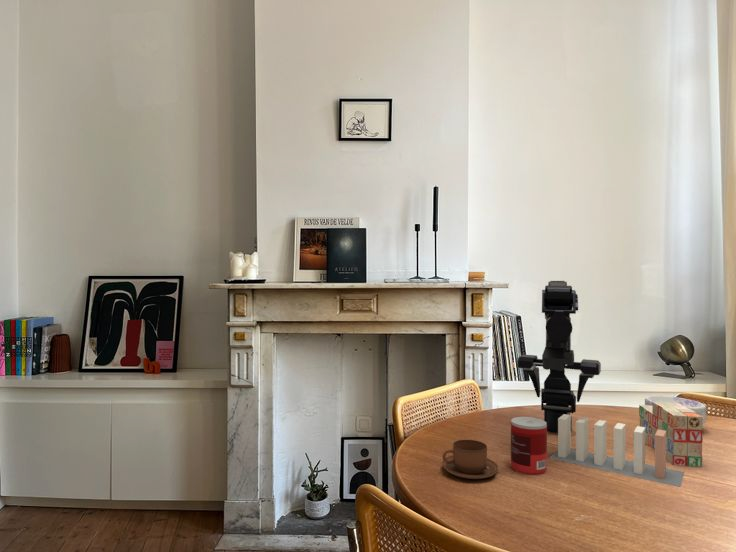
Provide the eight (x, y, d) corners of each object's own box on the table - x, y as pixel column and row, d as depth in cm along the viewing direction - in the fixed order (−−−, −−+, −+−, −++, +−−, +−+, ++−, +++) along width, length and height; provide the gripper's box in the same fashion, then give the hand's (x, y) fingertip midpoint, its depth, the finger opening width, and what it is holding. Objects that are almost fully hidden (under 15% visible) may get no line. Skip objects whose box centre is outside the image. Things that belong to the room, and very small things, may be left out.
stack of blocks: (638, 438, 132) (638, 393, 132) (664, 440, 130) (664, 394, 131) (672, 468, 111) (672, 414, 111) (703, 470, 109) (703, 415, 110)
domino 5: (633, 472, 106) (633, 431, 106) (637, 465, 110) (637, 426, 110) (642, 474, 105) (642, 432, 105) (645, 467, 109) (645, 427, 109)
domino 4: (613, 468, 108) (613, 427, 108) (617, 461, 112) (617, 422, 112) (621, 470, 107) (621, 429, 107) (625, 463, 111) (625, 424, 111)
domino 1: (558, 456, 116) (558, 418, 116) (563, 450, 120) (563, 414, 120) (565, 457, 115) (565, 419, 115) (570, 452, 119) (570, 415, 119)
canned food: (546, 466, 111) (546, 418, 111) (547, 479, 103) (547, 428, 103) (511, 462, 113) (511, 414, 113) (509, 474, 106) (510, 424, 106)
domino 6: (654, 477, 104) (654, 434, 104) (657, 470, 108) (657, 429, 108) (663, 479, 103) (663, 436, 103) (666, 471, 107) (666, 430, 107)
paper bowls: (709, 427, 142) (709, 400, 142) (701, 439, 131) (701, 410, 131) (650, 417, 152) (650, 392, 152) (638, 428, 141) (638, 400, 141)
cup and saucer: (465, 488, 99) (465, 458, 99) (431, 468, 110) (431, 440, 110) (509, 478, 104) (509, 449, 105) (473, 459, 115) (473, 433, 115)
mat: (549, 460, 114) (549, 458, 114) (561, 449, 122) (561, 446, 122) (680, 489, 99) (680, 487, 99) (684, 474, 107) (684, 471, 107)
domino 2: (575, 460, 113) (575, 421, 113) (581, 454, 117) (581, 416, 117) (583, 461, 112) (583, 422, 112) (588, 455, 116) (588, 418, 116)
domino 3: (594, 464, 111) (594, 424, 111) (599, 457, 115) (599, 419, 115) (601, 465, 110) (602, 426, 110) (606, 459, 114) (606, 421, 114)
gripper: (512, 336, 118) (511, 401, 117) (596, 341, 108) (596, 412, 108) (522, 332, 127) (522, 392, 127) (601, 337, 118) (600, 401, 118)
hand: (558, 399), depth 120 cm, fingers open, 9 cm apart
